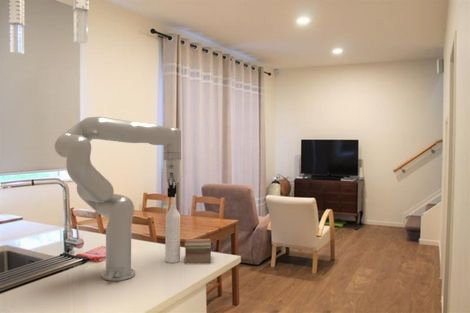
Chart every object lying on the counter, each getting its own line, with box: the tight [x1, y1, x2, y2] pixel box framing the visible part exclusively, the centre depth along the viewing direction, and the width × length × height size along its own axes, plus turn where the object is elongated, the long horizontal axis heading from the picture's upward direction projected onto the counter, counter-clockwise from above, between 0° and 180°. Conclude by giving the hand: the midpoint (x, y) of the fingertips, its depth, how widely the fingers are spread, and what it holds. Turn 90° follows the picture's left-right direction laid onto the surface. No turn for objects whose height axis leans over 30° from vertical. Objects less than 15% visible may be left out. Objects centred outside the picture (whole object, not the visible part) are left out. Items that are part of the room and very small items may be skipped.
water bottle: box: [162, 204, 181, 264], centre depth 168 cm, size 9×6×25 cm
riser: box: [184, 238, 212, 264], centre depth 172 cm, size 11×11×8 cm
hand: (172, 195), depth 168 cm, fingers open, 9 cm apart
